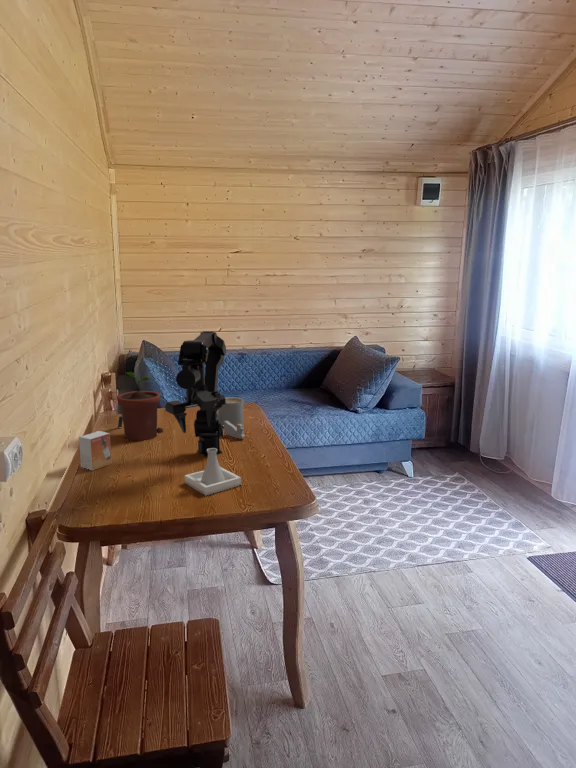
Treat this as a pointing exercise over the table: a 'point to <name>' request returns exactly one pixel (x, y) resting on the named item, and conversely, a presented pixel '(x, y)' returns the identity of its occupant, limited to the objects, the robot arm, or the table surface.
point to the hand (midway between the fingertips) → (197, 429)
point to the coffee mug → (232, 411)
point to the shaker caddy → (195, 483)
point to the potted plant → (138, 413)
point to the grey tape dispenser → (233, 430)
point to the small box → (95, 450)
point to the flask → (212, 469)
